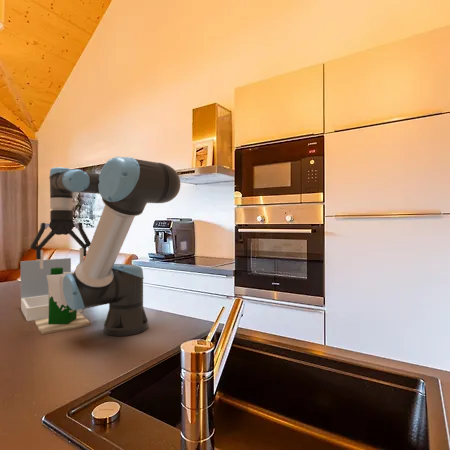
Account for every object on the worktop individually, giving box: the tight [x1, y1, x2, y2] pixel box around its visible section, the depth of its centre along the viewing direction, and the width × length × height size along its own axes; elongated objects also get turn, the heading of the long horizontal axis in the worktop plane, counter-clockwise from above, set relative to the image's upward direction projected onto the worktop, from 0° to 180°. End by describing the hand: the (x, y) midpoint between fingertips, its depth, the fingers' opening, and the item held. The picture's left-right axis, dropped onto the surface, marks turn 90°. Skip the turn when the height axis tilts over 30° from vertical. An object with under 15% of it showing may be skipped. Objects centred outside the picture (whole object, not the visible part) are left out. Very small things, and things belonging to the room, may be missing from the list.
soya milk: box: [47, 267, 77, 324], centre depth 120 cm, size 9×9×20 cm
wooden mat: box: [34, 312, 92, 335], centre depth 120 cm, size 16×16×1 cm
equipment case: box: [19, 257, 83, 322], centre depth 140 cm, size 27×20×21 cm
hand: (62, 266), depth 119 cm, fingers open, 13 cm apart
